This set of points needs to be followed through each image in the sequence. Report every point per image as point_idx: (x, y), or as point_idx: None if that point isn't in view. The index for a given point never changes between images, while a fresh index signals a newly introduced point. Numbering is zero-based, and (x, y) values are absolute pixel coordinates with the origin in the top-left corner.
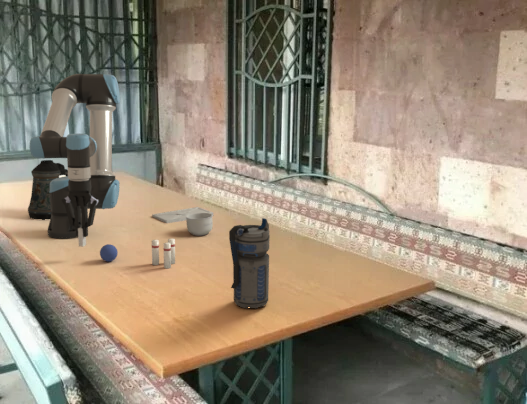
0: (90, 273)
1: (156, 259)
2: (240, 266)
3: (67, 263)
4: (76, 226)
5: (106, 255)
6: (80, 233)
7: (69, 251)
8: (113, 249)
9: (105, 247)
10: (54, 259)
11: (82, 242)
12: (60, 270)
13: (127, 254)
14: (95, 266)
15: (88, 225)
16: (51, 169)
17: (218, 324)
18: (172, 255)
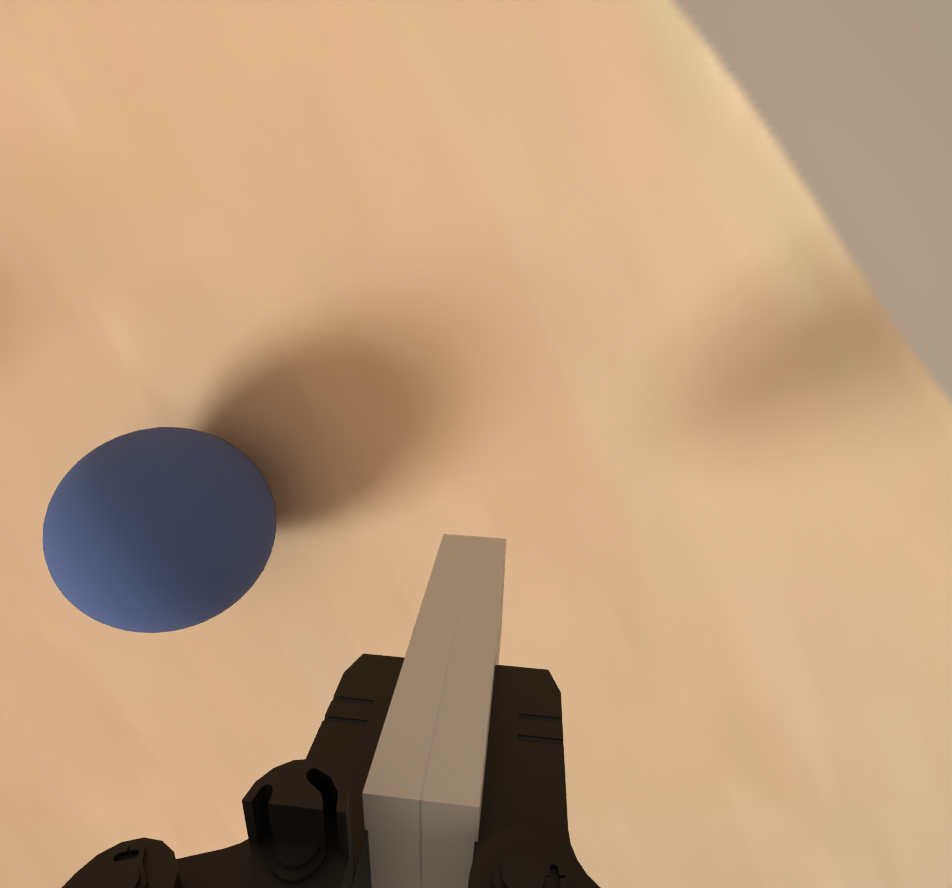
0: (193, 29)
1: None
2: None
3: (615, 356)
4: (520, 868)
5: (140, 433)
6: (438, 690)
7: (728, 717)
8: (45, 516)
9: (112, 515)
10: (815, 471)
11: (434, 569)
12: (605, 68)
13: (171, 675)
14: (268, 303)
15: (112, 872)
16: None
17: None
18: None
